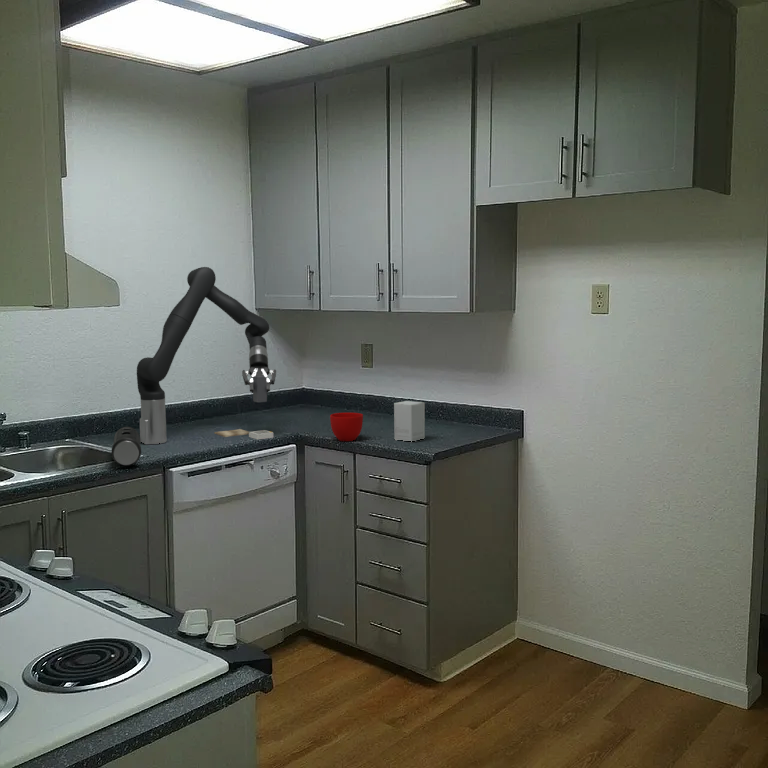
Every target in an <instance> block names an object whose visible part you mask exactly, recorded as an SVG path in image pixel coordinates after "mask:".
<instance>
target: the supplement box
mask: <svg viewBox="0 0 768 768" xmlns="http://www.w3.org/2000/svg"><path fill="white" fill-rule="evenodd" d="M425 405H426V404H425V402H423V401H422V402H421V401H413V400H412V401H411V400H404V401H399V402H394V403H393V413H394V415H393V416H394V417H393V420H394V421H393V423H394V426H393V428H394V432H393V434H394V439H395V440H394V439H393V440H394V441H397V440H403V441H402V442H404V441H411V442H410V443H413V442H412V441H415V442H417V441H416V440H420V439H424V438H425V437H426V435H425V434H426V432H425V428H426V427H425V425H426V424H425V422H426V421H425V418H426V416H425V415H426V414H425V412H426V411H425V410H426V409H425ZM425 439H426V438H425ZM425 439H424V440H425ZM420 441H421V440H420Z"/></svg>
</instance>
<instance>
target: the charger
mask: <svg viewBox="0 0 768 768" xmlns="http://www.w3.org/2000/svg"><path fill="white" fill-rule="evenodd" d="M252 399H253V400H252V401H253V402H254V403H267V402H268V393H267V377H265V376H253V393H252Z"/></svg>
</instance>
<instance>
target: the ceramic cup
mask: <svg viewBox="0 0 768 768" xmlns="http://www.w3.org/2000/svg"><path fill="white" fill-rule="evenodd" d="M329 418H330V426H331V427H330V428H331V432H332V434H333V435H334V436H335V437H336V439H337V440H338V441H339V442H352V441H353V440H354V441H356V440H357V438H358V437H359V435H360V434H361V431H362V429H363V423H364V420H363V419H364V414H363V413H359V412H335V413H332V414H330V417H329ZM354 441H353V442H354Z"/></svg>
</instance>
